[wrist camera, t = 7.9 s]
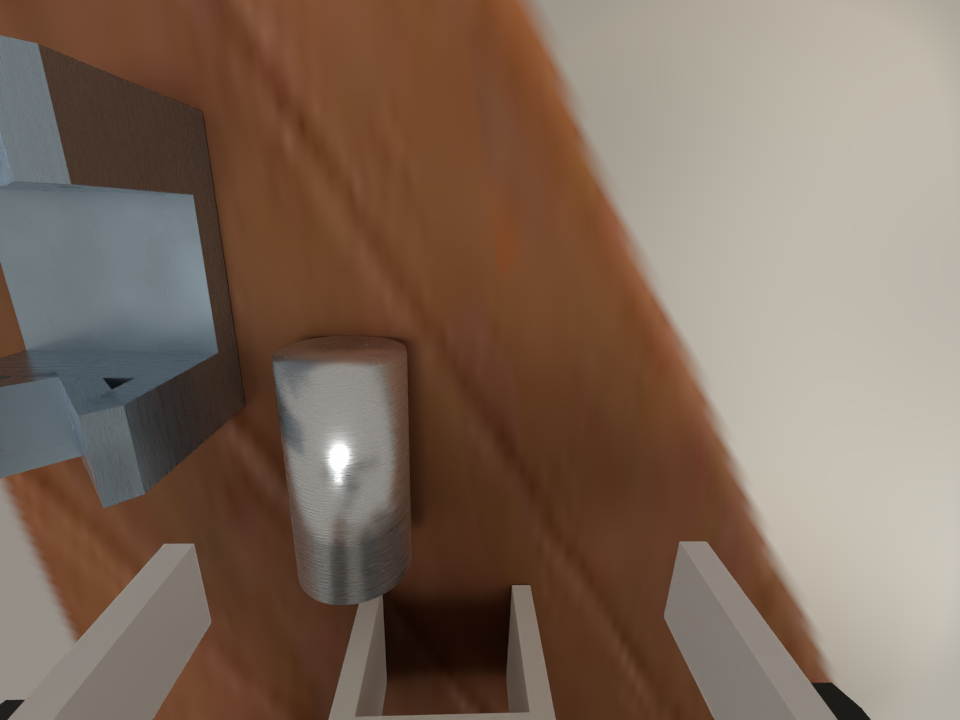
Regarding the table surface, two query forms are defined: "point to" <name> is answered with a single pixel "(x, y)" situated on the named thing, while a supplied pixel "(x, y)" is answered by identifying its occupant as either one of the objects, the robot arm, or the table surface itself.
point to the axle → (346, 463)
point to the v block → (108, 276)
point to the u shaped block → (364, 698)
